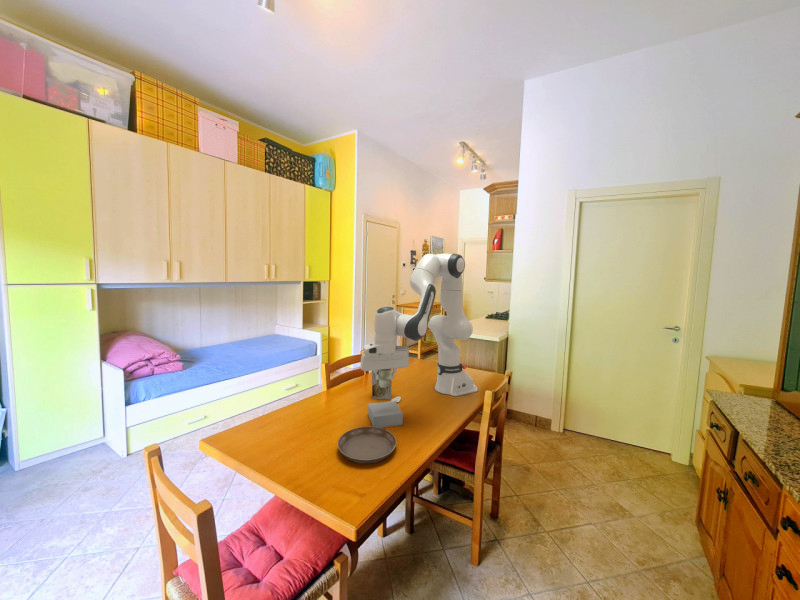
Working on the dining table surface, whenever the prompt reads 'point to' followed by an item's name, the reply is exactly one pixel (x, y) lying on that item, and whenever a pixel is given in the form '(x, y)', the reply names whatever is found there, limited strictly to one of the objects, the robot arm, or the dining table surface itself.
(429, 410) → the dining table surface
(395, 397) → the spoon
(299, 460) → the dining table surface
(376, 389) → the coffee box
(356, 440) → the plant saucer
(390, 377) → the sage block
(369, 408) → the plinth
